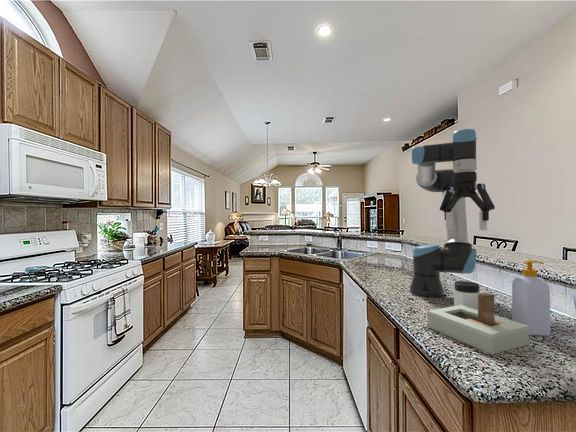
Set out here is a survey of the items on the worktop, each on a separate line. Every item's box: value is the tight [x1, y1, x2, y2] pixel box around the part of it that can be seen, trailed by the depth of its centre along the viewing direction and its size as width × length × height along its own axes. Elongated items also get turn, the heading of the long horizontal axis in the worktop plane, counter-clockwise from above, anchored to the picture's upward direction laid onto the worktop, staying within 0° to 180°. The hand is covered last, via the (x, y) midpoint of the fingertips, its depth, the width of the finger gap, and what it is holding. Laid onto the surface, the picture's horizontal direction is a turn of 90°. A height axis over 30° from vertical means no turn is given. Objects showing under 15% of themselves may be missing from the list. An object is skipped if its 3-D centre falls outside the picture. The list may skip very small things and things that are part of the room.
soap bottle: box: [511, 260, 551, 337], centre depth 97 cm, size 9×7×23 cm
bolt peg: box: [478, 292, 495, 326], centre depth 91 cm, size 5×5×14 cm
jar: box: [453, 280, 481, 310], centre depth 113 cm, size 9×8×12 cm
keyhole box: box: [426, 305, 530, 355], centre depth 95 cm, size 22×16×6 cm
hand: (465, 229), depth 110 cm, fingers open, 13 cm apart
